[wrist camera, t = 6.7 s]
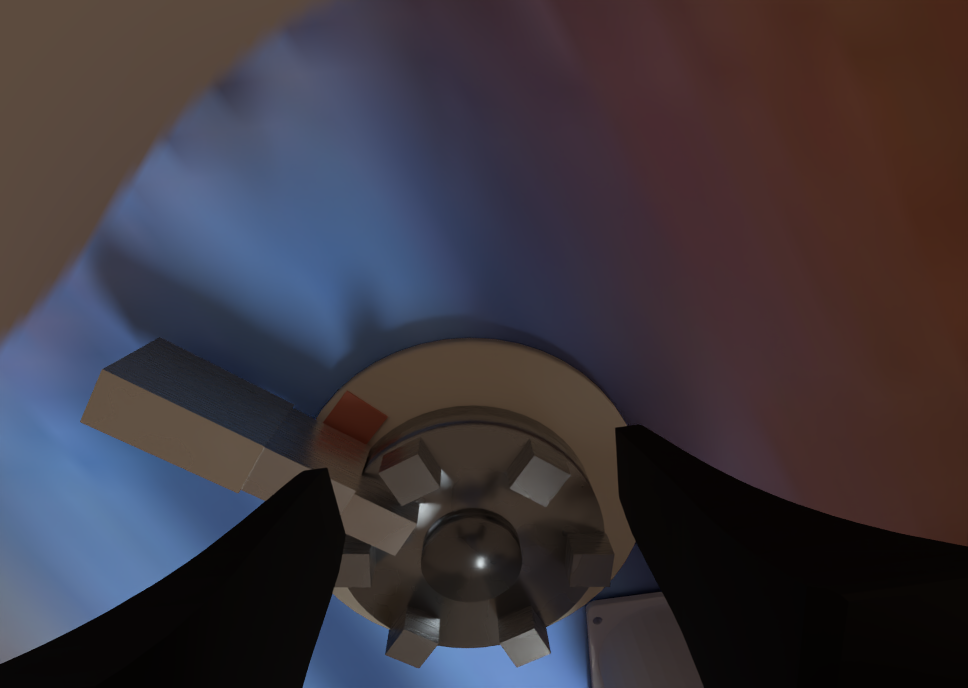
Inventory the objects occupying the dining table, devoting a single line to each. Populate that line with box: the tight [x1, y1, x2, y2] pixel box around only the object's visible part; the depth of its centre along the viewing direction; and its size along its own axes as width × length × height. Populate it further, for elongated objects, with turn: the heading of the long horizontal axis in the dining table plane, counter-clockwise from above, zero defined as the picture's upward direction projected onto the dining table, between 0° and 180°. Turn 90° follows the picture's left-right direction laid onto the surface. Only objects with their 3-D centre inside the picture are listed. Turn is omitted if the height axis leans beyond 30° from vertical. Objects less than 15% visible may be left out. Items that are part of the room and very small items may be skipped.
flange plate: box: [316, 338, 636, 629], centre depth 23 cm, size 16×16×1 cm
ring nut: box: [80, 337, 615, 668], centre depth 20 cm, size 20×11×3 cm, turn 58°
